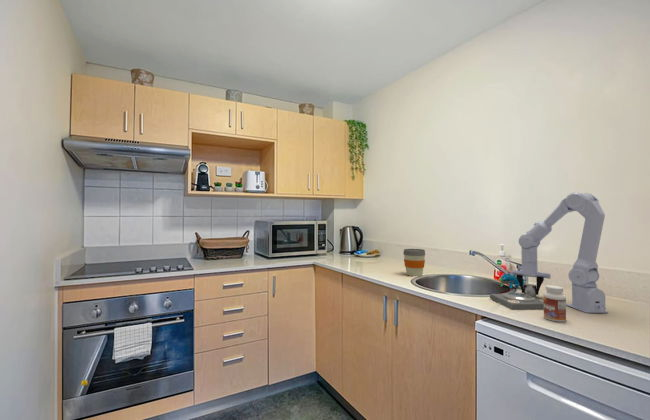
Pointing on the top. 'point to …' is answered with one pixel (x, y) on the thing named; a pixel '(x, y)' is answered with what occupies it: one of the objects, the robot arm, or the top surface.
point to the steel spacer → (530, 289)
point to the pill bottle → (554, 304)
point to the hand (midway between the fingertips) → (529, 293)
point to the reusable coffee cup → (414, 261)
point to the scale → (517, 301)
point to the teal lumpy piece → (509, 280)
